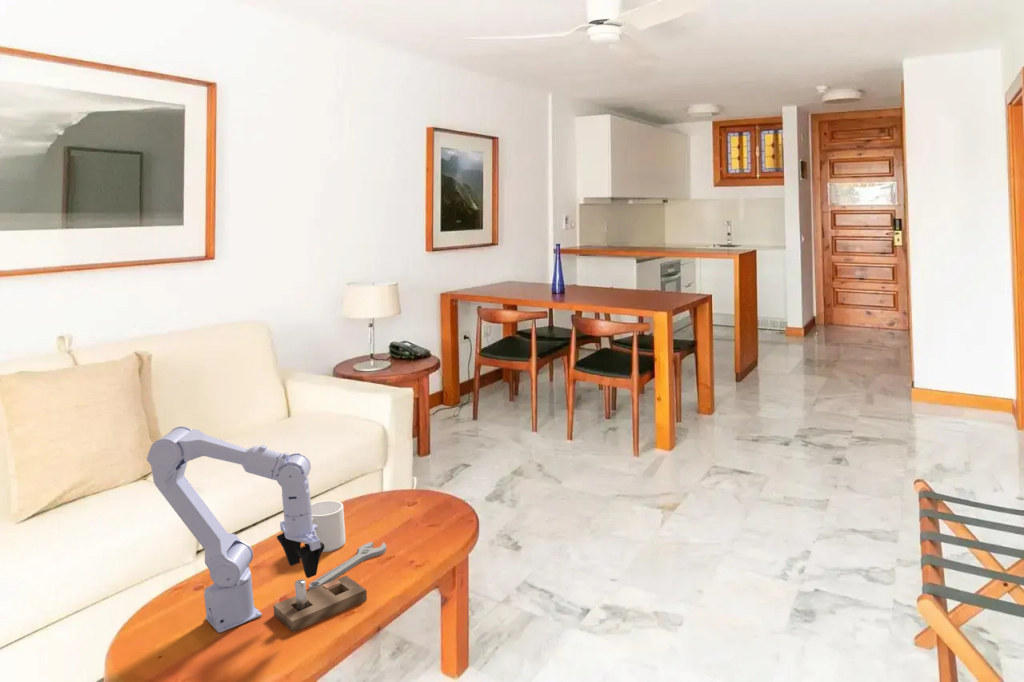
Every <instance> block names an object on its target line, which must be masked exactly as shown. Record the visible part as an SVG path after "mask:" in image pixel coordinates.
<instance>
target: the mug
mask: <svg viewBox="0 0 1024 682" xmlns="http://www.w3.org/2000/svg"><path fill="white" fill-rule="evenodd" d="M344 509H345V508H344V504H343V503H342V502H341V501H337V500H331V499H330V500H327V499H326V500H321V501H316V502H313V503H311V512H312V524H316V525H317V526H318V529H317V530H315V533H316V535H317V537H318V539H320V542H321V543H323V544H324V550H323V551H322V553H329V552H334V551H336V550H338V549H340V547H341V548H342V547H343V546H344V545H345V543H346V526H345V513H344V512H345V511H344Z"/></svg>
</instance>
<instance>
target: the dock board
mask: <svg viewBox="0 0 1024 682" xmlns="http://www.w3.org/2000/svg"><path fill="white" fill-rule="evenodd" d="M306 595H307V608H305V609H303V610H300V611H297V602H296V595H294V596H293V597H289V598H287V599H284V600H283V601H280V602H277V603H275V604H273V615H274V617H275V618H276V619H278V621H280V622H281V623H282V624H283V625H284V626H285V627H286V628H287V629H289V630H290V631H291V632H292V633H295V632H297V631H299V630H302V629H304V628H306V627H308V626H310V625H313V624H315V623H318V622H320V621H322V620H324V619H327V618H329V617H332V616H333V615H336V614H338V613H340V612H343V611H345V610H347V609H349V608H351V607H355V606H357V605H358V604H361V603H363V602H365V601H367V599H368V596H367V595H368V593H367V589H366V588H365V587H363V586H362V585H360V584H359V583H358V582H357V581H355V580H353V579H352V578H350V577H349V576H348V575H343V576H342V577H341V576H340V577H338V578H336V579H334V580H333V581H331V582H329V583H326V584H324V585H321V586H319V587H317V588H314V589H312V590H309V589H308V590H306Z"/></svg>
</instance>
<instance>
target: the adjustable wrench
mask: <svg viewBox="0 0 1024 682" xmlns="http://www.w3.org/2000/svg"><path fill="white" fill-rule="evenodd" d="M372 547H373V548H372ZM385 551H386V552H387V544H386V543H385V542H382V544H381V545H380V546H379V547H374V542H373V541H370V542H366V543H365V544H363V545H361V546H359V547H357V550H356V553H357V554H355V555H354V556H352V557H350V558H349V559H348V560H346V561H343V563H341V564H339V565H338V566H336V567H334V568H332V569H331V570H329V571H328V572H326V573H324V574H323V575H321V576H319V577H318V578H316V579H315V580H313V581H311V582H310V583H309V584H308V588H309V589H308V591H309V590H312V589H314V588H317V587H319V586H321V585H324V584H326V583H329V582H331V581H334V580H336V579H338V578H340V577H341V576H342V575H344V574H345V573H346V572H348V571H350V570H352V569H354V567H356V566H357V565H359V564H360V562H361V563H363V562H364V561H367V560H368V559H369V560H370V559H371V557H372V558H375V556H376V557H378V555H379V556H381V554H382V555H384V554H385V553H386V552H385ZM383 553H384V554H383ZM355 565H356V566H355Z"/></svg>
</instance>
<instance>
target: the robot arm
mask: <svg viewBox="0 0 1024 682" xmlns="http://www.w3.org/2000/svg"><path fill="white" fill-rule="evenodd" d="M202 457H207V458H210V459H215V460H220V461H224V462H228V463H232V464H236V465H241V466H242V468H243V470H244V471H245V472H246V473H248V474H253V475H256V476H259V477H263V478H266V479H270V480H273V481H276V482H277V484H278V485H279V486H280V487H281V499H282V509H283V510H282V511H283V518H284V519H283V520H282V521H280V522H279V529H280V531H281V532H282V533H281V534H278V535H277V536H276V540H277V541H278V542H279V543H280V545H281V547H282V549H283V551H284V554H285V556H286V560H287V562H288V565H289V566H290V567H292V566H295V565H298V564H300V562H301V564H302V568H303V571H304V575H305V577H306V579H310V578H312V577H314V576H316V575H317V573H318V568H319V562H320V558H321V556H322V553H323V552H322V551H323V550H324V544H323V543H321V542H320V539H318V537H317V535H316V533H315V530H317V529H318V526H317V525H316V524H312V512H311V504H312V501H311V490H310V484H309V483H310V482H309V477H308V475H309V474H310V471H311V468H312V467H311V461H310V460H309V459H308V457H306V456H305V455H303V454H301V453H299V452H295V453H291V454H290V453H287V452H283V453H282V452H279V451H275V450H271V449H269V448H268V446H267V445H264V444H261V445H260V446H257V445H255V446H253V447H251V448H245V447H243V446H240V445H236V444H233V443H231V442H228V441H225V440H222V439H220V438H217V437H214V436H211V435H208V434H206V433H204V432H203V431H202V430H199V429H195V428H193V429H191V428H190V427H188V426H177V427H174V428H173V429H171V431H170V432H168V433H167V434H165V435H164V436H162V437H161V438H160V439H158V440H155V441H154V442H153V443H152V444H151V446H150V448H149V450H148V454H147V457H146V461H147V462H148V463H149V465H150V466H151V471H152V472H151V473H152V479H153V484H154V485H155V487H156V488H157V489H158V491H159V492H160V493H161V494H162V496H163V498H165V500H166V501H167V503H168V504H169V505H170V506H171V508H172V509H173V510H174V512H175V513H176V514H177V516H178V517H179V518H180V520H181V521H182V522H183V524H184V525H185V526H186V528H187V529H188V530H189V532H191V534H192V536H193V537H194V538H195V539H196V541H197V542H198V543H199V544H200V545H201V547H202V549H204V564H205V566H206V568H208V571H209V575H210V579H211V581H212V582H213V583H212V584H210V585H209V586H207V587H206V588H204V592H203V596H204V606H205V612H206V614H205V615H206V616H205V620H206V621H207V622H208V623H209V624H210V625H211V627H213V629H214V630H215V631H216V632H217V633H223V632H226V631H228V630H231V629H232V628H235V627H238V626H241V625H242V624H244V623H247V622H249V621H252V620H254V619H255V620H256V619H257V618H260V617H262V615H263V614H262V612H261V611H260V610H259V609H257V607H256V606H255V601H254V591H253V581H252V580H253V579H252V578H253V577H252V573H251V571H252V570H251V569H250V564H251V562H252V561H253V559H254V551H253V548H252V547H251V545H249V543H247V542H245V541H243V540H241V539H240V538H239V536H238V535H237V534H236V533H231V532H228V531H226V529H225V528H224V526H223V525H222V524H221V522H219V519H217V517H216V516H215V515H214V513H213V512H212V511H211V510H210V508H209V506H208V505H207V504H206V503H205V501H204V499H202V497H201V496H200V495H199V493H198V491H196V490H195V488H194V487H193V486H192V484H191V483H190V481H189V479H187V477H186V476H185V472H186V468H187V465H188V462H190V461H193V460H195V459H199V458H202ZM302 544H304V546H302Z"/></svg>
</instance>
